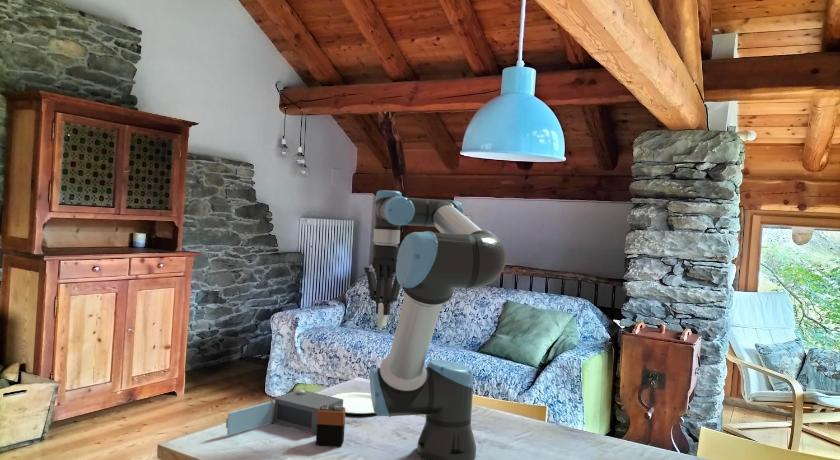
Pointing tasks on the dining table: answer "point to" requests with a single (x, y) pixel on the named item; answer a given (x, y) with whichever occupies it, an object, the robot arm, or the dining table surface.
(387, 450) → the dining table surface
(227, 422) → the door
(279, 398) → the camera body
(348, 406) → the plate
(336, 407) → the battery
